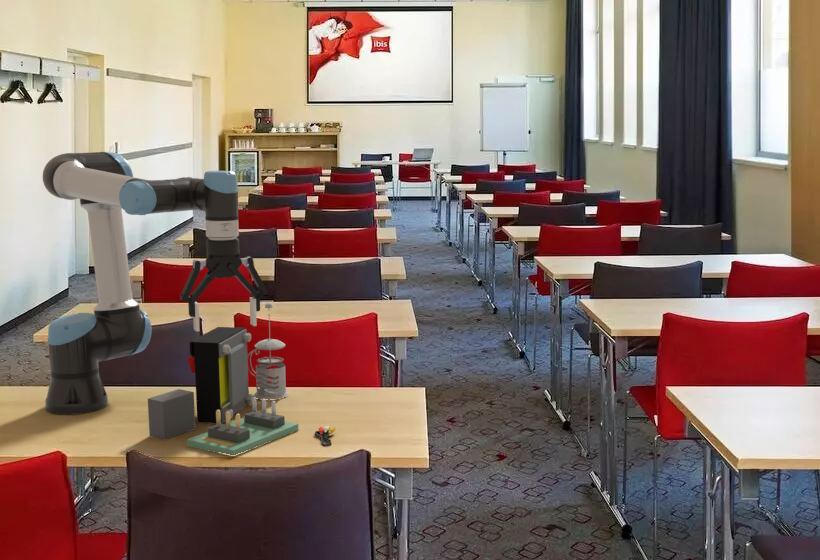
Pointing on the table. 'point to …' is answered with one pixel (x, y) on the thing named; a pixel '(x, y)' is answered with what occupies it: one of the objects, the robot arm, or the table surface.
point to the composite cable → (325, 434)
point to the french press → (270, 370)
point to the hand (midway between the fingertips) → (225, 327)
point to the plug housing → (171, 414)
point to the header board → (247, 444)
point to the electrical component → (220, 372)
